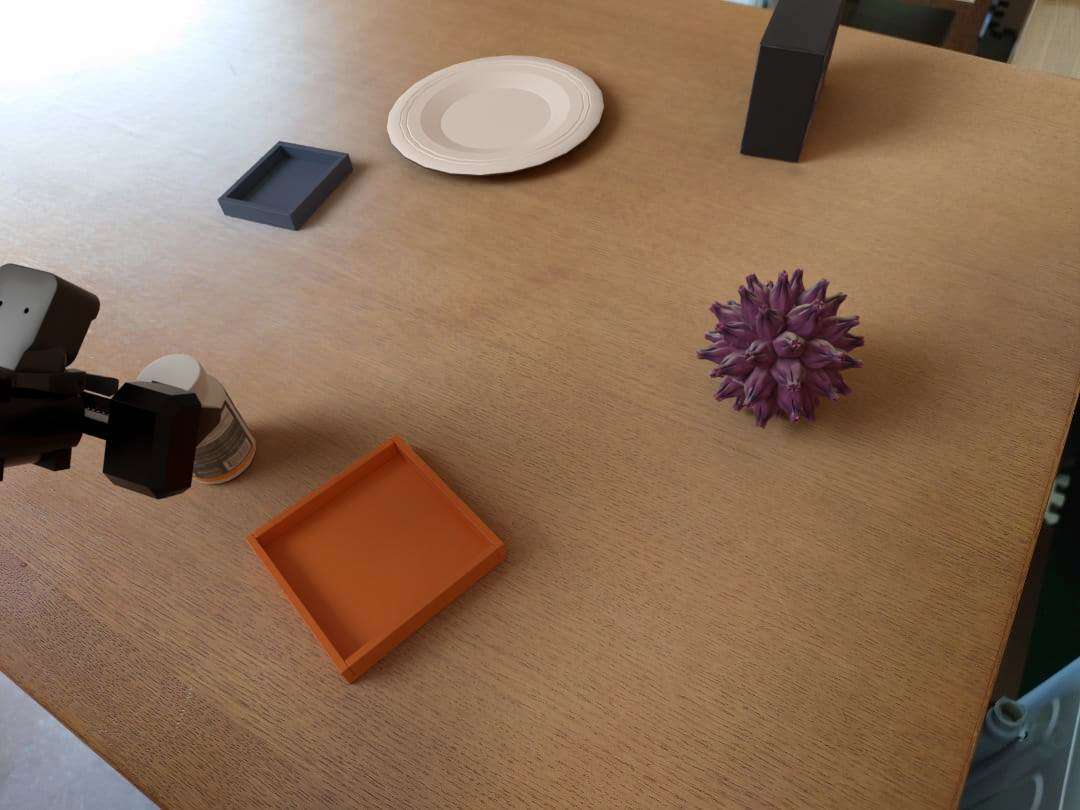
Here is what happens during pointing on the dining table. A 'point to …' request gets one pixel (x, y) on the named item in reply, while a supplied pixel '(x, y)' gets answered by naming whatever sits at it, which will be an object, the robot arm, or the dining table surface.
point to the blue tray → (286, 185)
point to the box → (790, 76)
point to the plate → (495, 115)
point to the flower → (781, 348)
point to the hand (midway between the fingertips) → (166, 399)
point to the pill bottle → (229, 439)
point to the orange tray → (375, 554)
